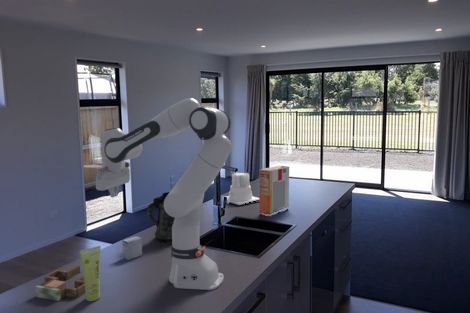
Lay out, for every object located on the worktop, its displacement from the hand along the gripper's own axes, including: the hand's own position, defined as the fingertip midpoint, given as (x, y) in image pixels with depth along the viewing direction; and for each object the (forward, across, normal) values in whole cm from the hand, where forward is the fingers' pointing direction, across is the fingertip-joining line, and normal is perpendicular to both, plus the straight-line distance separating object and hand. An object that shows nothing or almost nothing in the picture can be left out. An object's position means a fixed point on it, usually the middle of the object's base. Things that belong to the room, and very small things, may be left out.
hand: (114, 196), depth 171 cm
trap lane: (+31, -24, +6) cm, 39 cm away
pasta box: (+31, +107, -50) cm, 122 cm away
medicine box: (+31, +10, -2) cm, 33 cm away
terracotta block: (+31, -31, +6) cm, 44 cm away
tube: (+31, -30, -10) cm, 44 cm away
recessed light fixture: (+31, +129, -20) cm, 134 cm away
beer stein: (+31, +37, -7) cm, 49 cm away
